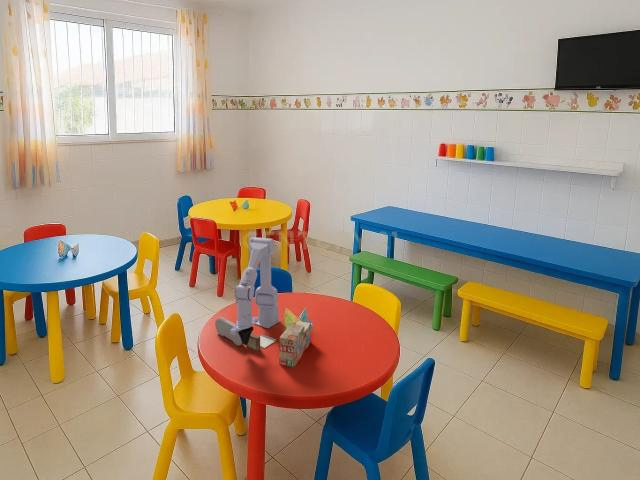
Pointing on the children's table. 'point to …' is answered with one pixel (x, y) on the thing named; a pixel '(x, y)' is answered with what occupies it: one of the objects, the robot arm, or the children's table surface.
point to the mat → (266, 341)
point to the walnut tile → (254, 342)
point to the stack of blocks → (294, 343)
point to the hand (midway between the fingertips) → (245, 343)
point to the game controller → (227, 330)
